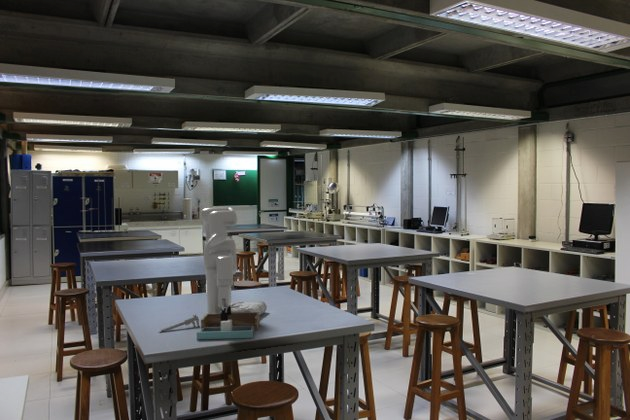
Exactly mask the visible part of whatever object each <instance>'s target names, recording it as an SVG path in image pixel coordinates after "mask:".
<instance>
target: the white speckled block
mask: <svg viewBox="0 0 630 420" xmlns="http://www.w3.org/2000/svg"><path fill="white" fill-rule="evenodd" d="M232 326H233V325H232V320H228V321H221V326H220V327H221V331H232Z"/></svg>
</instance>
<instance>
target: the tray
mask: <svg viewBox="0 0 630 420" xmlns="http://www.w3.org/2000/svg"><path fill="white" fill-rule="evenodd" d="M254 332H255V325H232V331H221V326H208V327H203V328H202V330H201V329H200V331H196V340H218V339H219V340H220V339H221V340H222V339H223V340H225V339H253V338H254V337H253V336H254Z"/></svg>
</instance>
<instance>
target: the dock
mask: <svg viewBox="0 0 630 420" xmlns="http://www.w3.org/2000/svg"><path fill="white" fill-rule="evenodd" d="M260 319H261V318H260V316H259V312H252V313H231V315H228V320H232V326H254V331H258V330H259V327H260V324H261V321H260ZM200 327H201V328H200V331H201V330H202V328H203V327H221V313H217V314H207V313H205V314H204V316H202V318H201V319H200Z"/></svg>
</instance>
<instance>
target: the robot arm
mask: <svg viewBox="0 0 630 420" xmlns="http://www.w3.org/2000/svg"><path fill="white" fill-rule="evenodd" d="M200 220H201V223H202V225H203V227H204V230H205V231H204V232H205V244H204V247H203V251H202V252H203V253H202V254H203V263H204V264H203V265H204V266H203V267H204V268H203V269H204V274H205V281H206V308H207V311H206V314H217V313H220V311H221V321H228V315H231V303H232V286H234V275H236V273H237V271H238V270H237V269H238V265H237V263H238V262H237V261H238V259H237V245H236V242H235V240H234V239H233V238H230V237H228V229H227V227H236V225H237V223H238V216H237V213H236V211H235V210H234V208H232V207H228V206H227V207H225V206H224V207H222V206H221V207H207V208H203V209H201V211H200Z"/></svg>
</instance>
